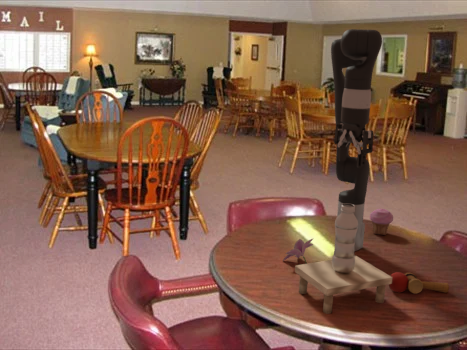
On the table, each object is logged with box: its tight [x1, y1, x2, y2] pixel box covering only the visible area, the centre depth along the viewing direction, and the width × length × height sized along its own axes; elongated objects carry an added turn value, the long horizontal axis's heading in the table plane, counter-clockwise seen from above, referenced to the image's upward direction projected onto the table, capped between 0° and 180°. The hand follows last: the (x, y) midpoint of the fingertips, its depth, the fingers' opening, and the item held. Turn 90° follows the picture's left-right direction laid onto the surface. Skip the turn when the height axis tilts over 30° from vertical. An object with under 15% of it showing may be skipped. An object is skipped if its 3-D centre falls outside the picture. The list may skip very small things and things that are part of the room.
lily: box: [282, 238, 314, 264], centre depth 189 cm, size 12×12×10 cm
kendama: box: [388, 271, 450, 294], centre depth 171 cm, size 8×6×18 cm
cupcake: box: [369, 207, 394, 236], centre depth 220 cm, size 9×9×10 cm
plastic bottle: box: [331, 203, 358, 273], centre depth 162 cm, size 6×7×20 cm
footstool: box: [294, 255, 392, 315], centre depth 165 cm, size 22×17×8 cm
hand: (351, 163), depth 157 cm, fingers open, 8 cm apart
